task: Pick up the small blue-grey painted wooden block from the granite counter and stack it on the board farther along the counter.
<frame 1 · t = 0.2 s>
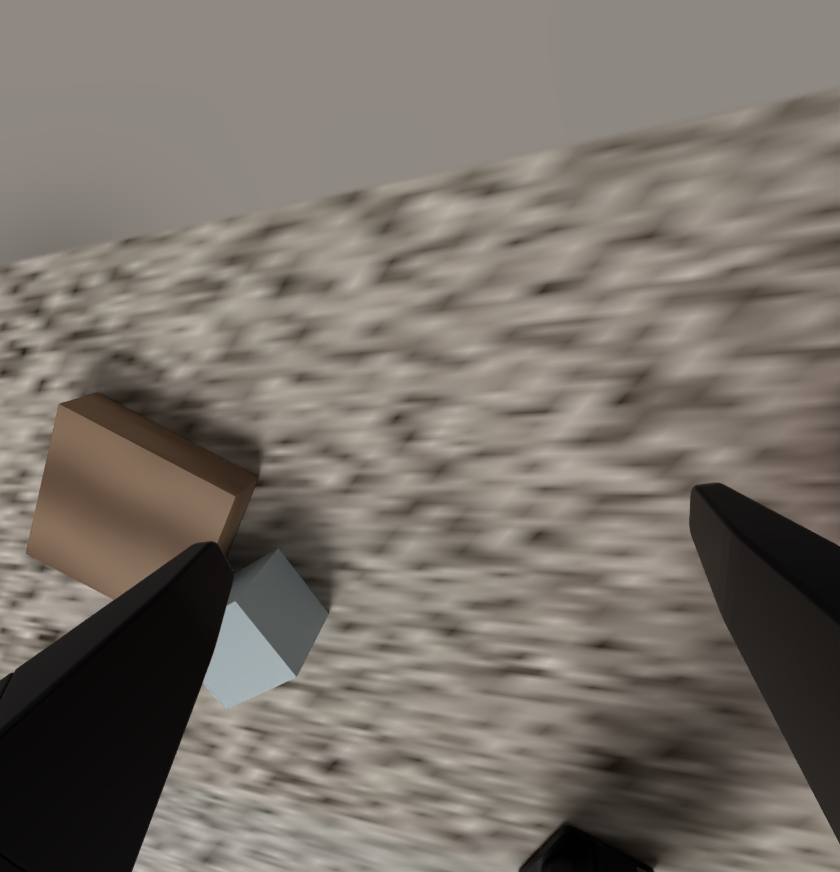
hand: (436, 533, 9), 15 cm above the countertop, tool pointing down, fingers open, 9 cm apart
board: (154, 506, 29), on the countertop
block: (273, 597, 30), on the countertop
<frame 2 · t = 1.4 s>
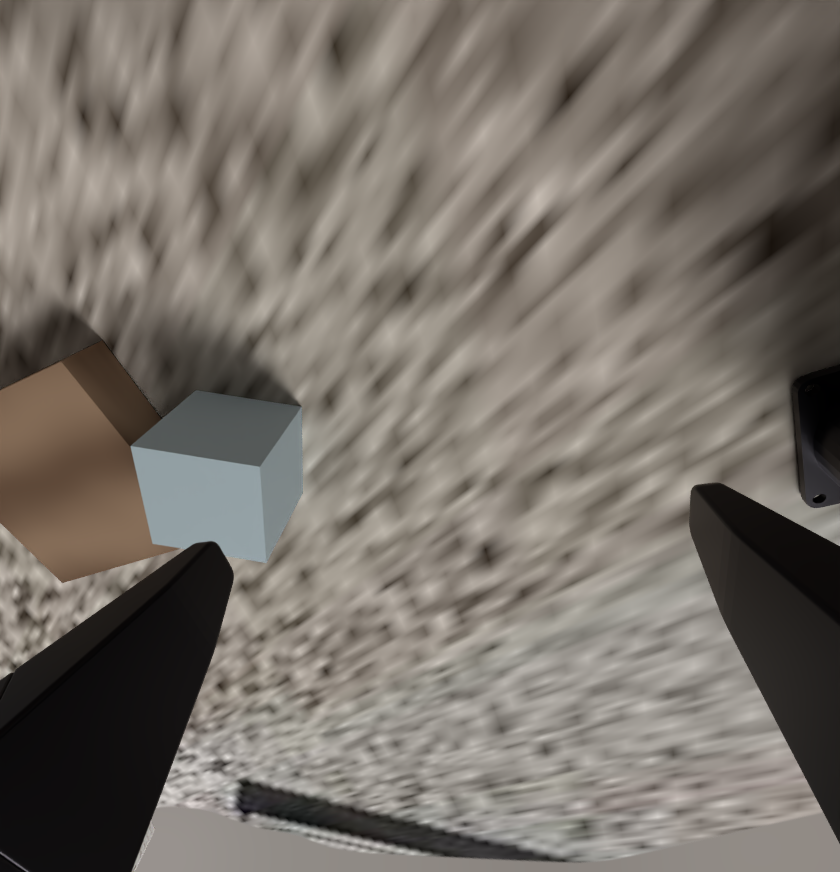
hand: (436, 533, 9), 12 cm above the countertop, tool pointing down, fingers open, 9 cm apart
board: (97, 460, 26), on the countertop
block: (252, 443, 24), on the countertop
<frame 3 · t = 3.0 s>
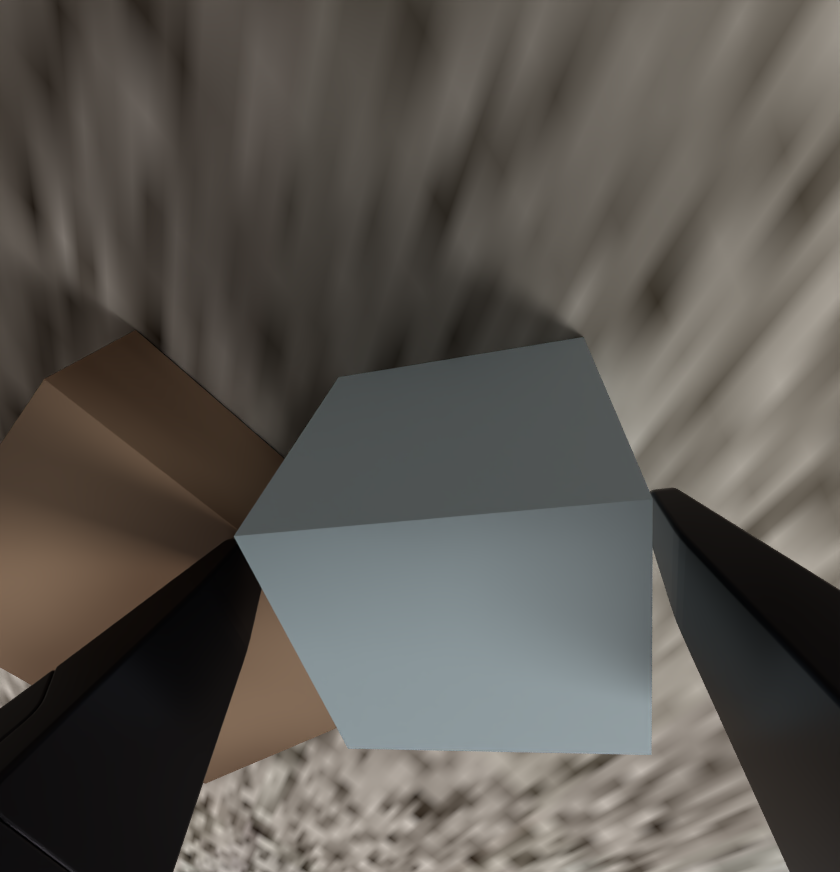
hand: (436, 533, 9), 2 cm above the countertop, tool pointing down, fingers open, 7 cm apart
board: (201, 567, 14), on the countertop
block: (475, 458, 11), on the countertop
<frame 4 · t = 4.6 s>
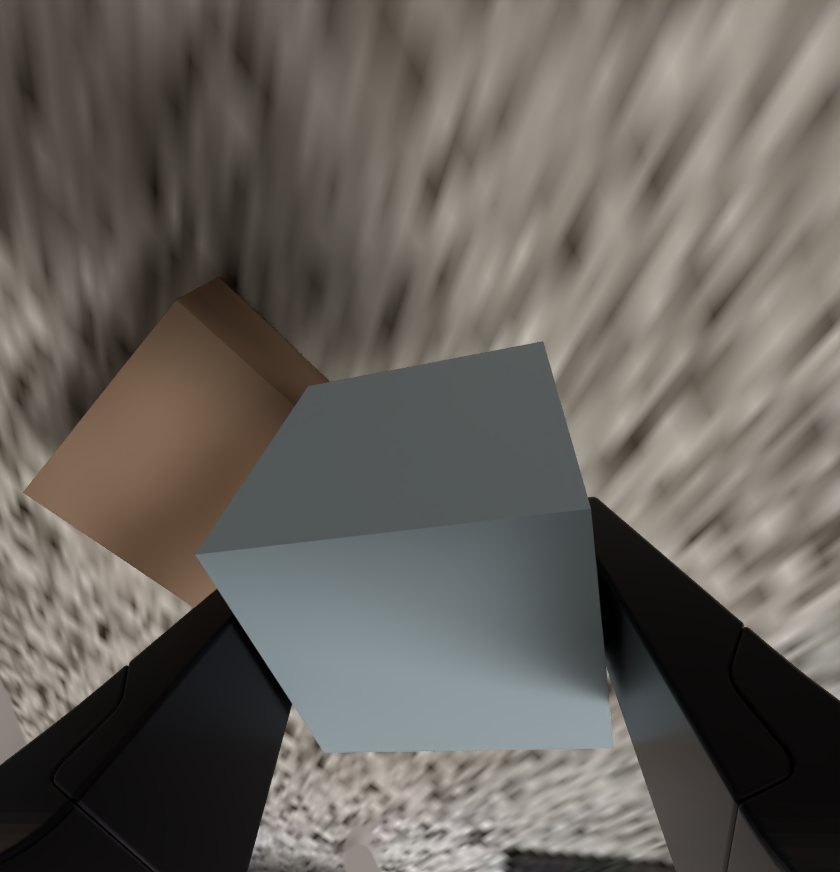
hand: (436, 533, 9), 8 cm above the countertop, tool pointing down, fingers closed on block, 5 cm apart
board: (251, 468, 19), on the countertop
block: (445, 463, 11), point 5 cm above the countertop, touching gripper
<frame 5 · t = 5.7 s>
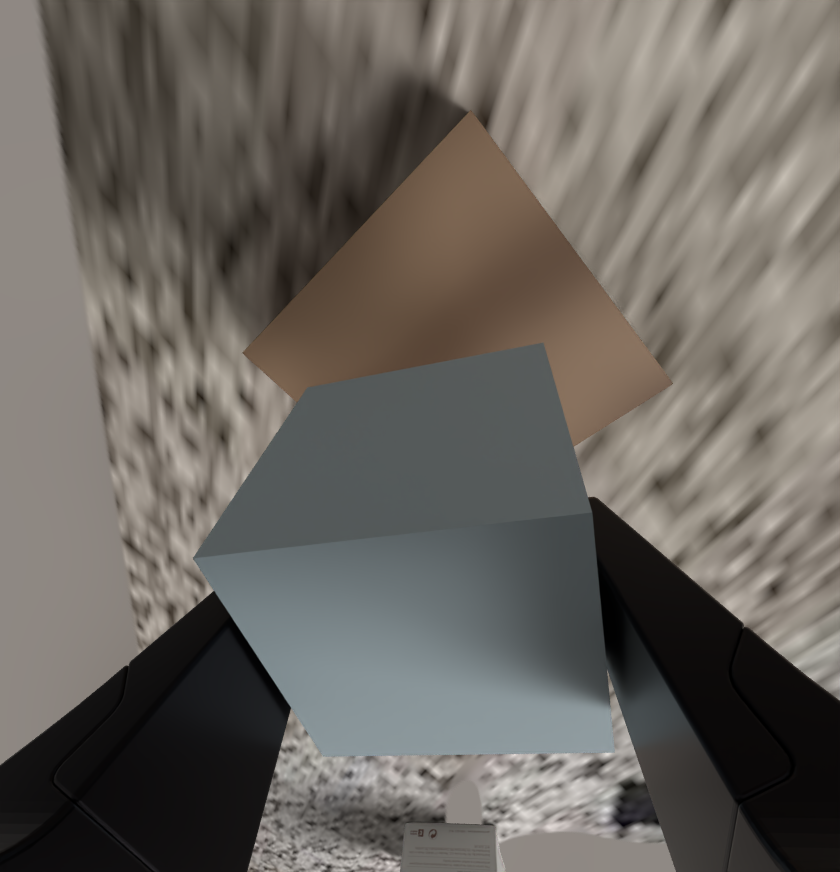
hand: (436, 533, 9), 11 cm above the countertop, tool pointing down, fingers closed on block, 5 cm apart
supplement box 2: (456, 840, 40), on the countertop
board: (454, 341, 18), on the countertop
block: (445, 464, 11), point 8 cm above the countertop, touching gripper
when the fingers open (5 cm above the countertop, at t = 7.0 s): block stays where it is, resting on board.
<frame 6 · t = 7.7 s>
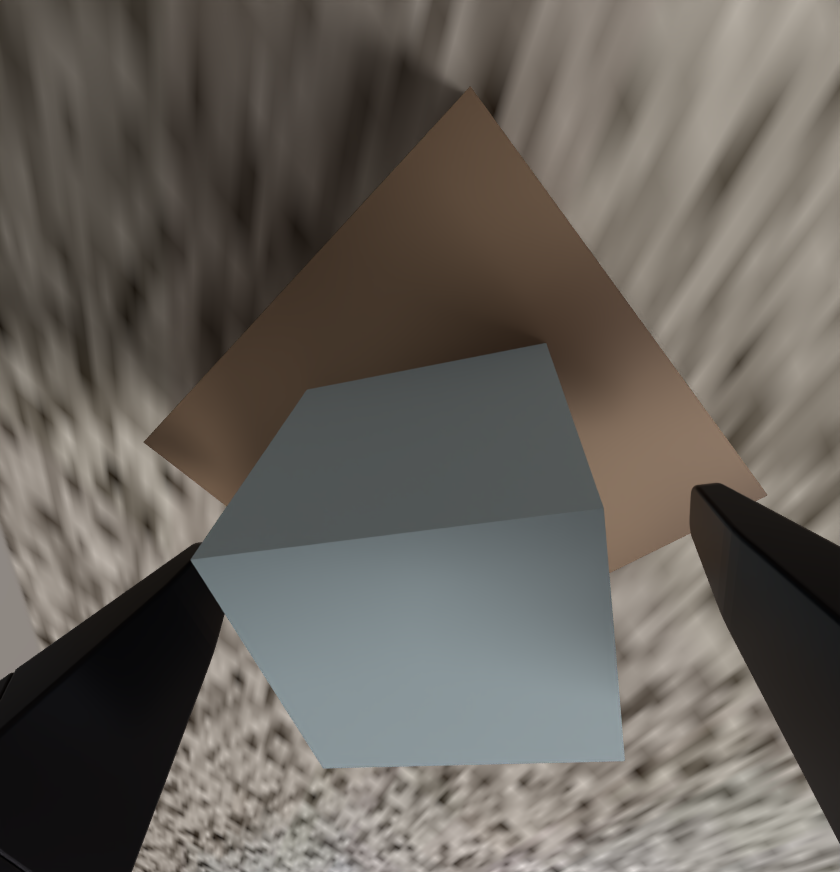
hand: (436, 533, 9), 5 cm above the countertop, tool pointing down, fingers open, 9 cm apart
board: (448, 415, 13), on the countertop
block: (446, 468, 11), point 2 cm above the countertop, touching board
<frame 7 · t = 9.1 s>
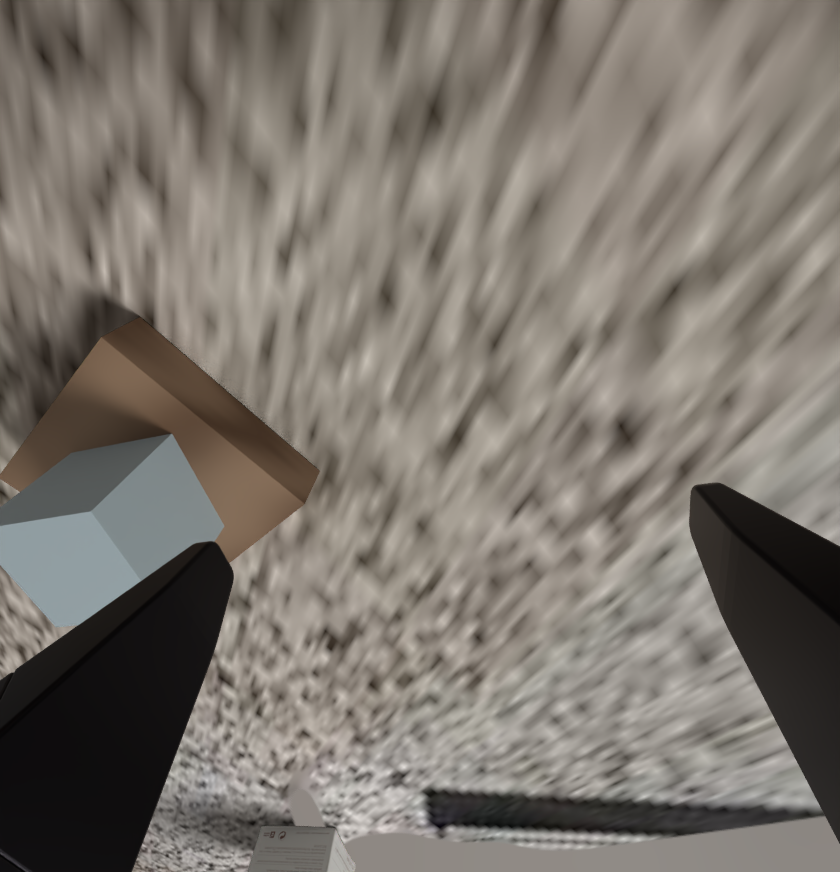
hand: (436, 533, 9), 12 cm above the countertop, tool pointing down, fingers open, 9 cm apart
supplement box 2: (310, 840, 46), on the countertop
board: (177, 459, 24), on the countertop
block: (150, 490, 22), point 2 cm above the countertop, touching board
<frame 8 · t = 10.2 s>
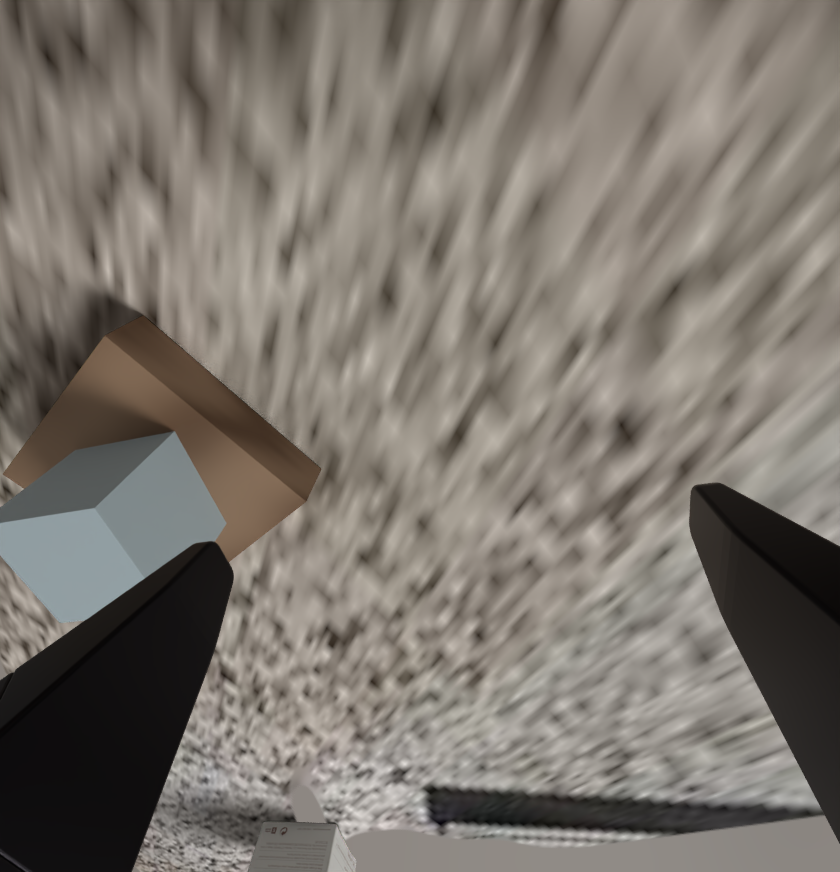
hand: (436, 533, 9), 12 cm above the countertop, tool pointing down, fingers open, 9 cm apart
supplement box 2: (311, 836, 46), on the countertop
board: (179, 457, 24), on the countertop
block: (153, 487, 22), point 2 cm above the countertop, touching board
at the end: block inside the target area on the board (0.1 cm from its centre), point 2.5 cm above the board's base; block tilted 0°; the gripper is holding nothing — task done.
